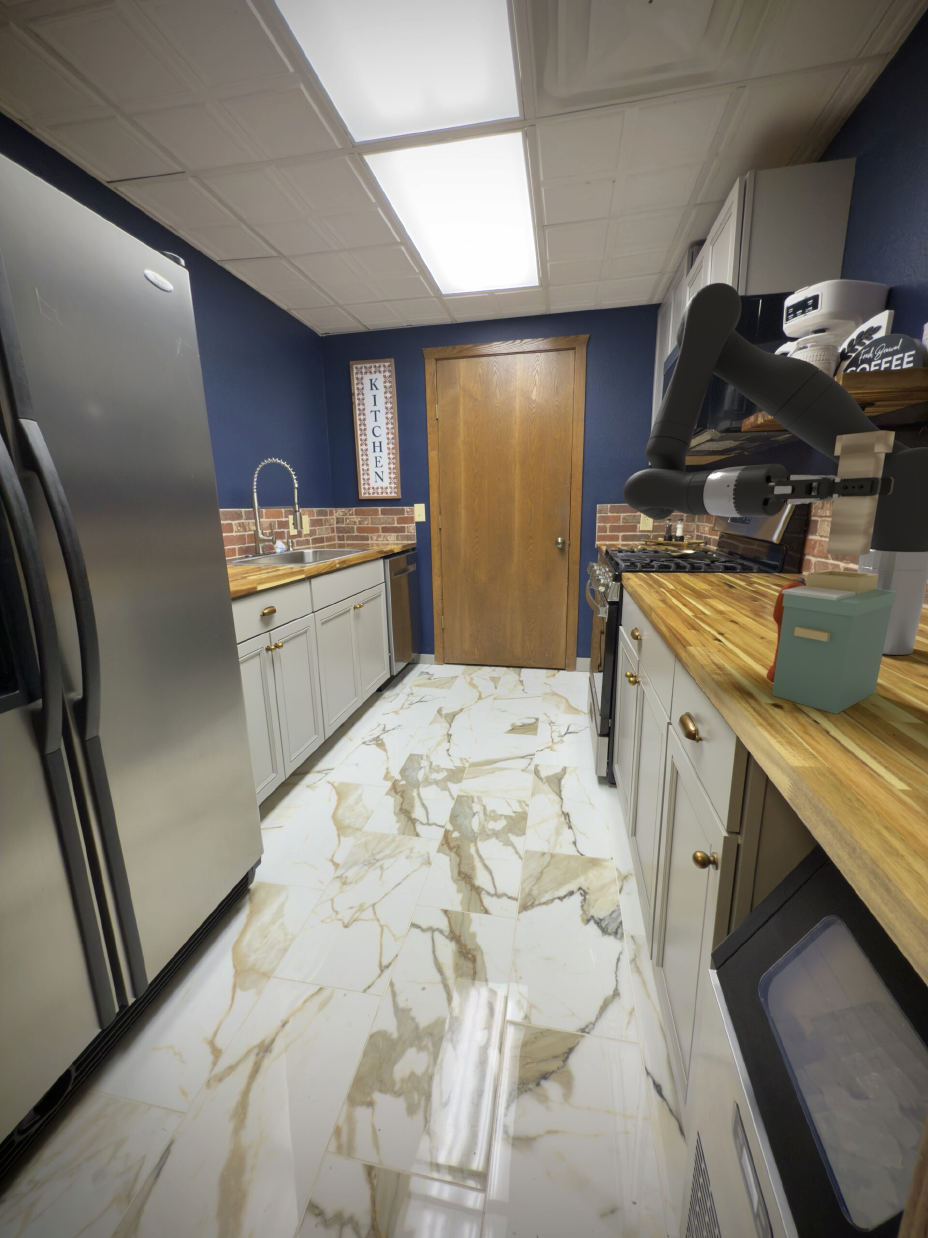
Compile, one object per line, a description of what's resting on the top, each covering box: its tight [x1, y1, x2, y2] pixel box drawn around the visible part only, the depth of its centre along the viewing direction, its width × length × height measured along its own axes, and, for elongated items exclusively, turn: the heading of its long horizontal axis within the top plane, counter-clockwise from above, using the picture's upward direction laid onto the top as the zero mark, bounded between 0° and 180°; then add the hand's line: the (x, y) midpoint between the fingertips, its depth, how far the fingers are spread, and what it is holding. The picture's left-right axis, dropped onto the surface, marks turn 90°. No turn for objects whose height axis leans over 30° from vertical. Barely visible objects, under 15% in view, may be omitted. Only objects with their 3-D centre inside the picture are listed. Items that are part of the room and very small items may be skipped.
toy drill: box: [766, 576, 806, 684], centre depth 75 cm, size 5×19×15 cm, turn 142°
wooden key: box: [826, 429, 896, 557], centre depth 63 cm, size 4×5×15 cm
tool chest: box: [771, 569, 896, 715], centre depth 65 cm, size 14×8×16 cm, turn 123°
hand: (884, 486), depth 60 cm, fingers closed on wooden key, 3 cm apart
